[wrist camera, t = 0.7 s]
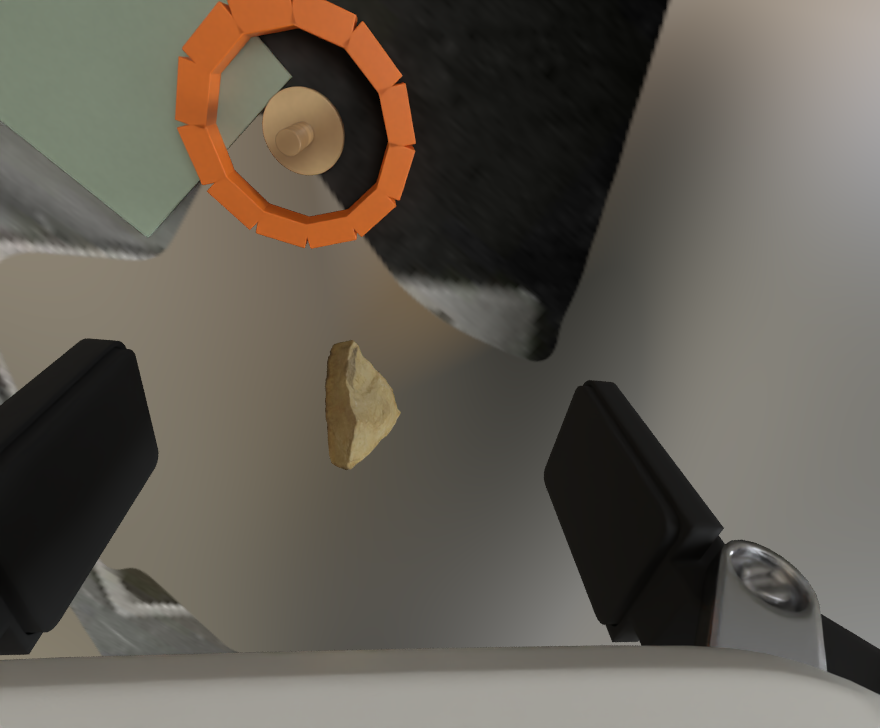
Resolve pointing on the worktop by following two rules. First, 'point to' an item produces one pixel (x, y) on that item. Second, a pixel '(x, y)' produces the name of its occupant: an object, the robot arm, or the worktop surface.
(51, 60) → the mat
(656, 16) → the worktop surface
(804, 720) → the robot arm
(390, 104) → the ring
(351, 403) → the rock
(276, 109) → the wooden peg disc
